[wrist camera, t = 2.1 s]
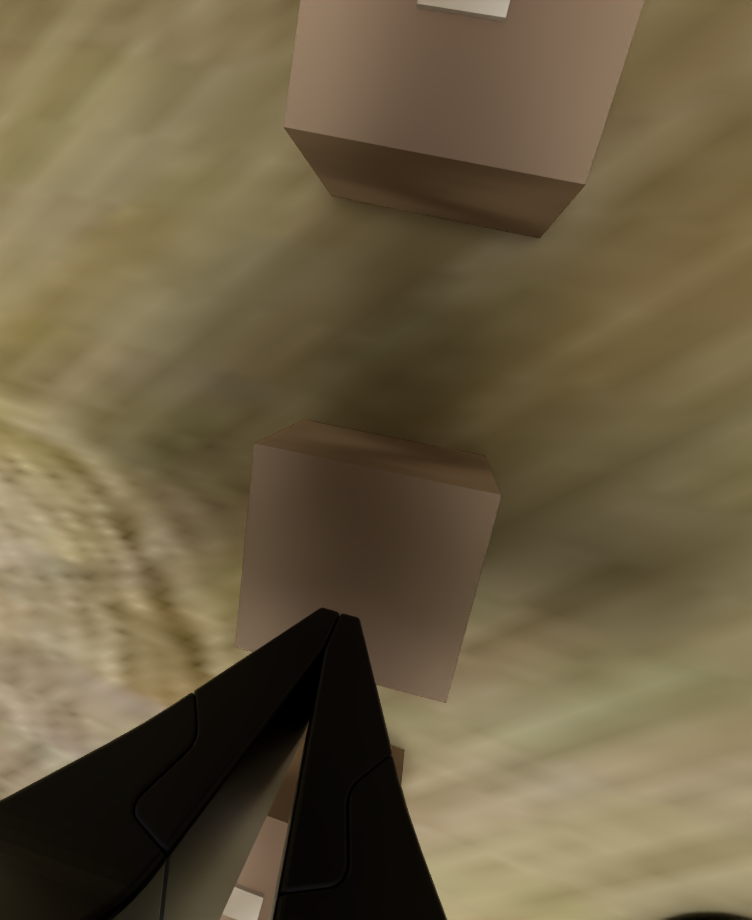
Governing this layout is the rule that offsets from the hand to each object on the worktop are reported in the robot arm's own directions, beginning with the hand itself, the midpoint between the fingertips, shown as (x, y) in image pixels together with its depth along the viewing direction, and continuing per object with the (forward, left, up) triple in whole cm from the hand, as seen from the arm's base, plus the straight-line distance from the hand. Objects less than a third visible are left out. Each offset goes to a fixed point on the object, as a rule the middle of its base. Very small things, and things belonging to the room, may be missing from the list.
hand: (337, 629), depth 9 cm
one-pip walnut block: (-7, -10, -6) cm, 14 cm away
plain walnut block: (0, 0, -6) cm, 6 cm away
